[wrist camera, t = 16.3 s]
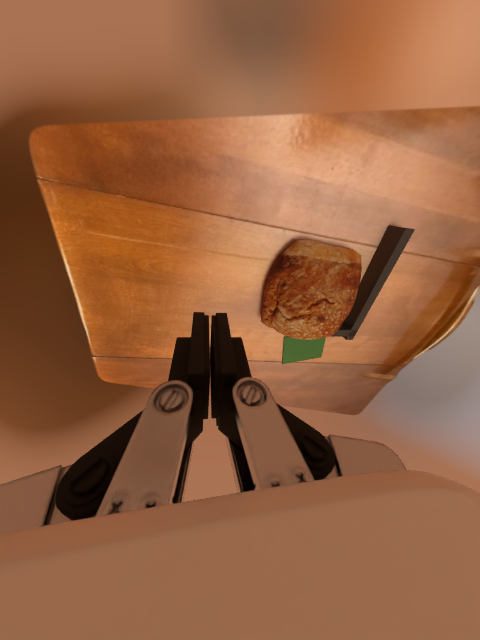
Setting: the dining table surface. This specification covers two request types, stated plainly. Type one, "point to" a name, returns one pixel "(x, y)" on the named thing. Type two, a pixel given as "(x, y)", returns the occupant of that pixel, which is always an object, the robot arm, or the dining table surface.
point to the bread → (311, 289)
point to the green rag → (301, 349)
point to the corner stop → (375, 278)
